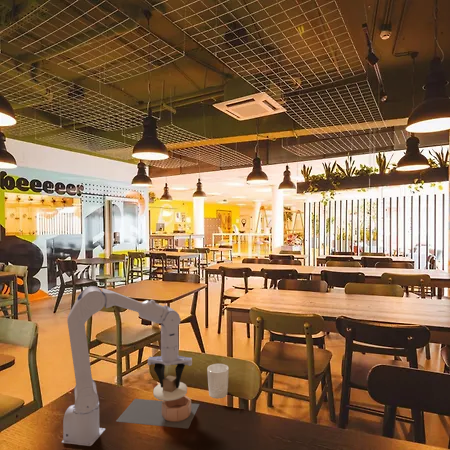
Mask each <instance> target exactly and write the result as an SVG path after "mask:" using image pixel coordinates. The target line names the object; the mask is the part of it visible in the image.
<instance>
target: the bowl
mask: <svg viewBox="0 0 450 450" xmlns="http://www.w3.org/2000/svg"><path fill="white" fill-rule="evenodd" d="M162 401H163V400H162ZM191 403H192V399H191V398H190V397H189V396H187V395H186V394H185V395H184V396H183V397H181V398H179V399H176V400H171V401H163V402H162V416H163V418H164V419H165V420H167V421H170V422H179V421H183V420H185V419H187V418H188V417H189V416H190V413H191Z"/></svg>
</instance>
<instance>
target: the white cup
mask: <svg viewBox="0 0 450 450" xmlns="http://www.w3.org/2000/svg"><path fill="white" fill-rule="evenodd" d="M229 369H230V368H229V366H228V365H227V364H224V363H213V364H210V365H208V366H207V369H206V370H207V371H206V372H207V384H208V395H209V397H211V398H213V399H223V398H226V397H227V396H228V388H229Z"/></svg>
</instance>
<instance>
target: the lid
mask: <svg viewBox="0 0 450 450" xmlns="http://www.w3.org/2000/svg"><path fill="white" fill-rule="evenodd" d="M152 391H153V393H152V394H153V397H154V398H155V399H157V400H158V401H171V400H176V399H179V398H181V397H183V396H184V395H186V394H187V392H188V386H187V384H186V383H184V382H182V381H180V385H179V388H176V375H175V376H173V375H170V374H168V375H167V376H166V377H165V378H164V379H163V388H161V385H160V383H159V384H157V385H156V386H155V387H154V388H153V390H152Z"/></svg>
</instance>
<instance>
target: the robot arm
mask: <svg viewBox="0 0 450 450" xmlns="http://www.w3.org/2000/svg"><path fill="white" fill-rule="evenodd" d="M114 306H116V307H120V308H122V309H127V310H129V311H131V312H132V311H133V312H136V313H138V315H139V316H138V317H139V318H141V319H144V320H147V321H149V322H153V323H156V324H160V356H159V355H157V356H149V357H148V358H147V366H152V365H154V367H153V371H154V372H155V374H156V376H157V378H158V380H159V384H160V385H161V388H163V379H164V378H166V377H165V369H166V368H165V366H166V367H167V366H172V365H173V366H176V367H175V368H174V369H175V377H176V388H179V385H180V382H181V378H182V374H183V373H184V372H183V371H184V369H185V367H186V366H188V367H190V366H192V365H193V357H186V356H183V355H179V352H180V351H179V325H180V324H181V322H182V318H181V316H180V314H179V313H178V312H177V310H174V308H172V307H170V306H168V305H165V304H164V305H162V304H159V303H157V302H156V300H154V299H150V300H148V299H147V300H144V301H142V302H141V301H138V300H136V299H134V298H131V297H128V296H126V295H123V294H122V293H119V292H116V291H114V290H110V289H106V288H103V287H102V288H100V287H98V286H94V285H90V286H87V287H86V288H84V289H83V290H82V291H81V292H80V293H79V294H78V295H77V297H76V300H75V302H74V304H73V306H72V308H71V309H70V311H69V313H68V315H67V329H68V333H69V334H68V336H69V342H70V350H71V356H72V363H73V372H74V378H75V386H74V389H73V390H74V391H73V393H74V394H73V395H74V404H71V405H69V406H68V408H67V409H66V410H65V412H64V416H63V421H62V424H63V425H62V428H63V429H62V430H63V431H62V433H63V434H62V437H63V438H62V441H61V444H69V445H71V444H72V445H78V446H87V447H91V446H92V445H93V444H94V443H95V442H96V441H97V440H98V439H99V438H100V437H101V435H102V434H103V433H104V432H105V431H106V428H105V427H100V400H99V394H98V391H97V384H96V383H97V382H96V381H94V379H93V376H92V367H91V361H90V360H91V359H90V354H89V347H88V339H87V332H86V331H87V330H86V325H85V324H86V323H87V322H88V320H89V319H90V318H91V317H92V316H94V315H95V314H97V313H98V312H100V311H101V310H102V309H103V308H104V307H105V309H108V308H111V307H114Z"/></svg>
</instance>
